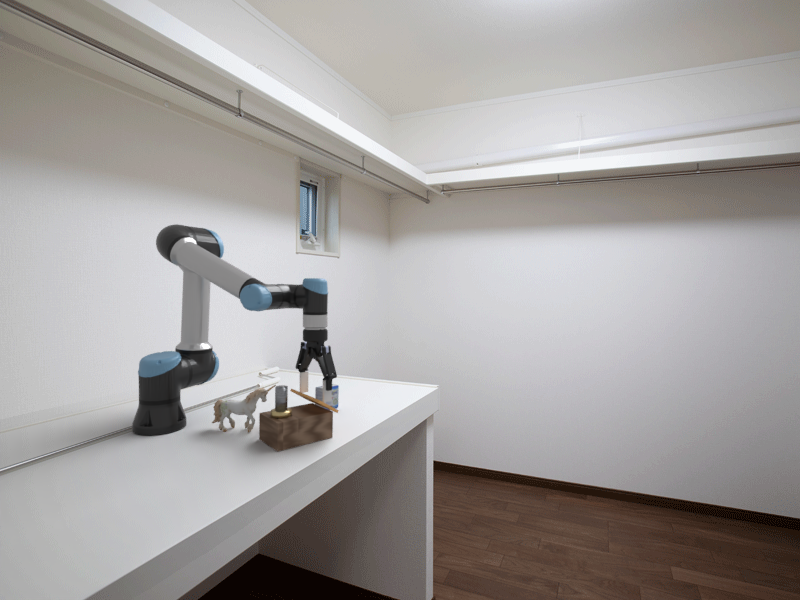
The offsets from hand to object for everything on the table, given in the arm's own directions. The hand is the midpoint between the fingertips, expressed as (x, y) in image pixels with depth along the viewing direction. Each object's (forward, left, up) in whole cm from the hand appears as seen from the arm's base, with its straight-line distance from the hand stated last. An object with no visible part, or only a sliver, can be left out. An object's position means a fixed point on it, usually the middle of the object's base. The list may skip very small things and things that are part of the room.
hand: (315, 396), depth 137 cm
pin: (-11, 0, -11) cm, 16 cm away
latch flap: (0, 0, -1) cm, 2 cm away
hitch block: (-6, 0, -12) cm, 13 cm away
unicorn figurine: (-14, +19, -12) cm, 27 cm away
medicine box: (+18, +21, -12) cm, 30 cm away
